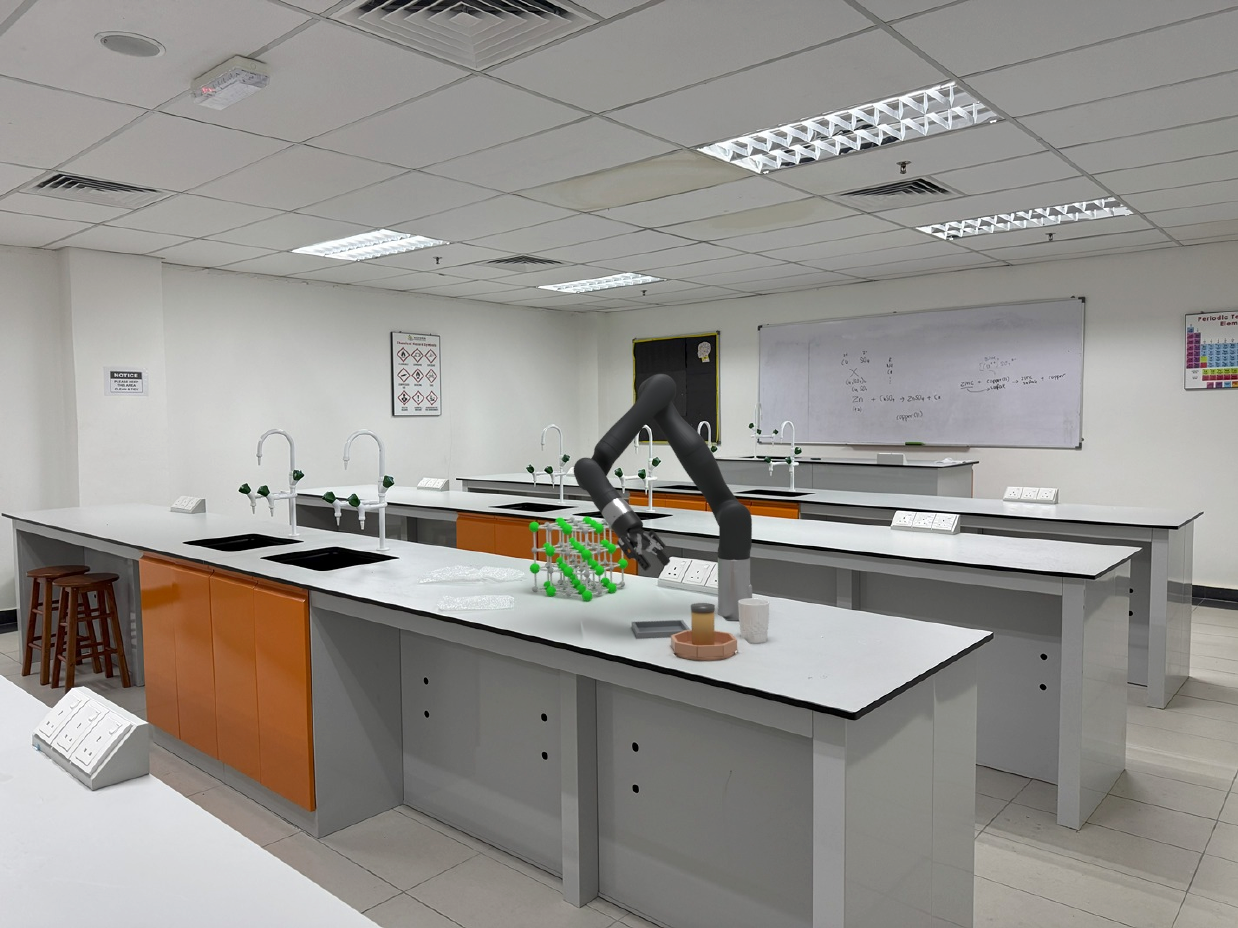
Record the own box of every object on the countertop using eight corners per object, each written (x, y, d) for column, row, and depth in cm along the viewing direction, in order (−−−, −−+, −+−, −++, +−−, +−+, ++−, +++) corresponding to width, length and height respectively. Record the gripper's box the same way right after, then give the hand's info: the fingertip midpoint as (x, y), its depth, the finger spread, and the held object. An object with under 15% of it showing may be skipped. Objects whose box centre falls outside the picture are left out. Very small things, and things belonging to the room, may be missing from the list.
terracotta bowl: (726, 642, 209) (726, 628, 209) (741, 659, 194) (741, 644, 194) (667, 644, 207) (667, 631, 207) (678, 661, 192) (678, 647, 192)
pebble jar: (712, 643, 204) (712, 602, 203) (717, 650, 198) (717, 607, 197) (689, 644, 203) (688, 603, 203) (693, 651, 197) (693, 608, 197)
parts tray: (682, 628, 223) (682, 619, 223) (691, 640, 211) (691, 630, 211) (631, 630, 222) (631, 621, 222) (637, 642, 210) (637, 632, 210)
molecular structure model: (630, 588, 279) (629, 518, 278) (588, 602, 258) (587, 526, 257) (572, 582, 292) (571, 514, 291) (528, 594, 271) (526, 522, 270)
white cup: (762, 645, 206) (762, 606, 205) (733, 641, 210) (733, 602, 209) (774, 638, 212) (773, 600, 212) (745, 634, 216) (745, 597, 216)
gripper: (613, 512, 210) (650, 560, 203) (646, 507, 221) (682, 553, 214) (597, 531, 213) (633, 579, 207) (630, 525, 224) (665, 571, 218)
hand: (658, 566), depth 210 cm, fingers open, 8 cm apart
